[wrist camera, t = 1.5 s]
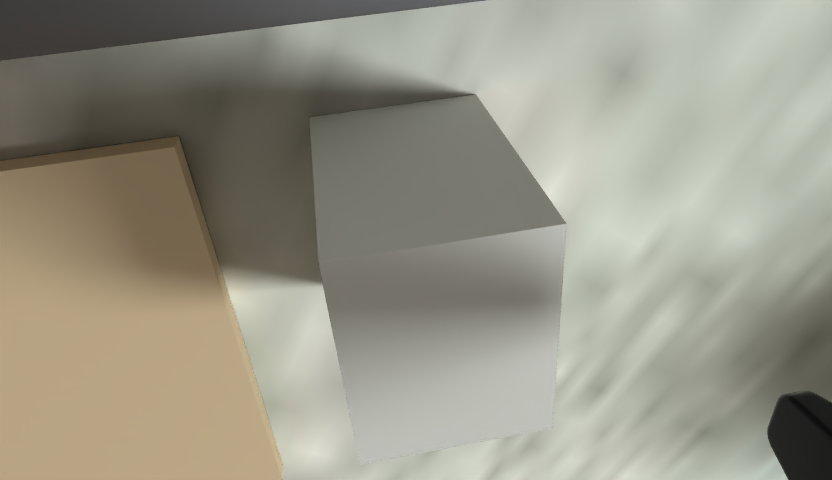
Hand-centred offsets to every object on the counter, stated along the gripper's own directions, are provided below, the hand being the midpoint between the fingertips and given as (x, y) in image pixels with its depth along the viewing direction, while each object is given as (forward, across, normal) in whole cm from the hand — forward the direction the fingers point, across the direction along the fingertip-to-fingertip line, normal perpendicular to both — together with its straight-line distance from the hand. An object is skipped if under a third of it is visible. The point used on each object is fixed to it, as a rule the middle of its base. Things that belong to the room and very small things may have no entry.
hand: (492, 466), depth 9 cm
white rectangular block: (+8, 0, 0) cm, 8 cm away
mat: (+8, +10, +4) cm, 14 cm away
